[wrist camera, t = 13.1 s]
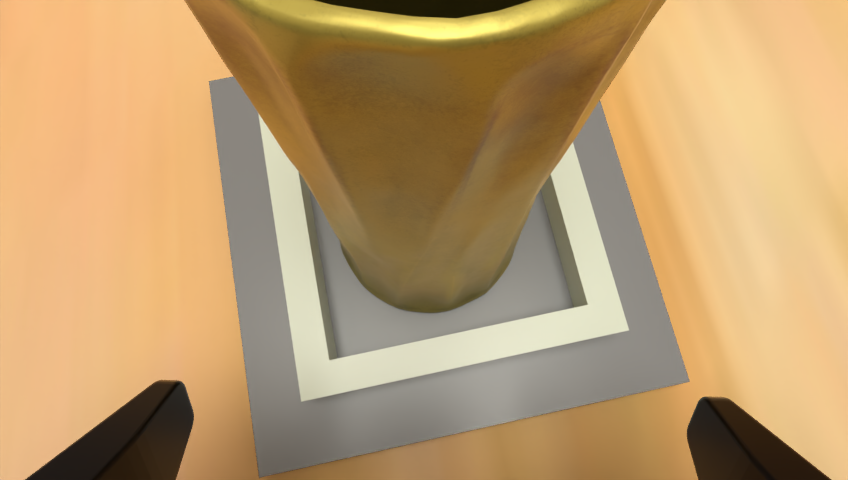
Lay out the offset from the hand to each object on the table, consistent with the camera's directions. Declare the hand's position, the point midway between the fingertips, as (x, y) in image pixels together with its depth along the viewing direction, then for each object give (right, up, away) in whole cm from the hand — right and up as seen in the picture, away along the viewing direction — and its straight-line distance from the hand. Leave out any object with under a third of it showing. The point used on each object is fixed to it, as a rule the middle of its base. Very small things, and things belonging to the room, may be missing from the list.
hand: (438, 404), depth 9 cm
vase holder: (0, +3, +10) cm, 10 cm away
